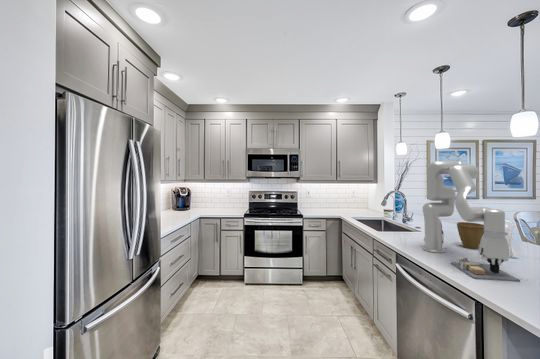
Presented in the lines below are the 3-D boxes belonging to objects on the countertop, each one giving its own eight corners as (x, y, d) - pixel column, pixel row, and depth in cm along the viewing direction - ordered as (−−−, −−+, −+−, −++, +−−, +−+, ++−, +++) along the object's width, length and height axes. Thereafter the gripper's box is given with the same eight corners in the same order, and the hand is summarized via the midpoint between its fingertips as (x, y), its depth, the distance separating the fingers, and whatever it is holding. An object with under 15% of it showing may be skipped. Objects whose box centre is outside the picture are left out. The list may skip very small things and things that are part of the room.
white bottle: (521, 260, 134) (518, 216, 135) (492, 257, 140) (489, 215, 141) (516, 257, 140) (513, 215, 140) (489, 254, 146) (486, 214, 147)
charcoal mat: (450, 263, 131) (450, 262, 131) (489, 265, 127) (489, 264, 127) (473, 278, 112) (473, 277, 112) (520, 281, 108) (520, 280, 108)
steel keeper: (460, 269, 123) (460, 261, 123) (479, 270, 121) (479, 262, 121) (463, 271, 120) (463, 263, 120) (482, 272, 118) (482, 264, 118)
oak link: (458, 263, 129) (458, 256, 129) (467, 263, 128) (467, 257, 128) (475, 274, 114) (475, 267, 114) (485, 274, 113) (485, 267, 113)
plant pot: (456, 248, 159) (456, 224, 159) (457, 243, 170) (457, 221, 170) (486, 252, 149) (486, 227, 149) (485, 246, 160) (484, 223, 160)
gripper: (506, 233, 116) (507, 270, 116) (471, 232, 119) (472, 268, 119) (519, 237, 109) (519, 276, 109) (481, 236, 112) (481, 274, 112)
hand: (494, 272), depth 114 cm, fingers closed
